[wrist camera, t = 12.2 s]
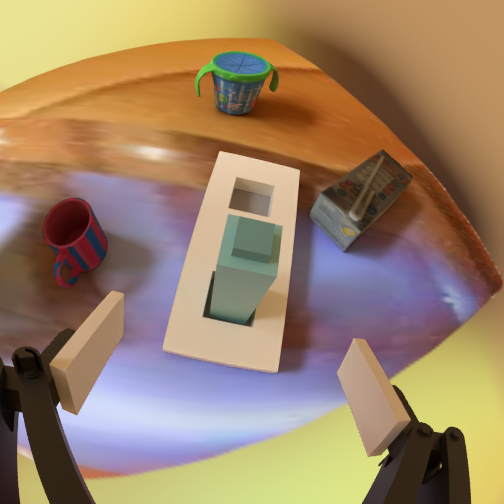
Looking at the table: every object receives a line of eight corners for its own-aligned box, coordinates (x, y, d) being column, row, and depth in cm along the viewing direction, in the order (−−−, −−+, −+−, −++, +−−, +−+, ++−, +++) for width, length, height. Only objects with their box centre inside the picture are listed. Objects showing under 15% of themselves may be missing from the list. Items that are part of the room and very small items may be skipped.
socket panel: (165, 352, 30) (162, 349, 27) (218, 165, 43) (219, 151, 40) (270, 373, 30) (277, 372, 28) (294, 182, 44) (299, 170, 41)
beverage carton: (303, 215, 41) (319, 187, 36) (367, 168, 49) (383, 144, 43) (342, 255, 39) (364, 231, 34) (398, 198, 47) (417, 176, 42)
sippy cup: (196, 123, 46) (199, 75, 37) (191, 93, 51) (194, 50, 42) (279, 121, 50) (293, 77, 41) (264, 92, 55) (275, 53, 46)
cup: (113, 230, 35) (100, 200, 29) (93, 302, 30) (71, 282, 24) (73, 224, 34) (55, 195, 28) (50, 291, 30) (25, 270, 24)
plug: (209, 318, 32) (217, 256, 17) (215, 285, 34) (230, 203, 19) (243, 324, 32) (281, 269, 18) (249, 292, 34) (287, 216, 20)
